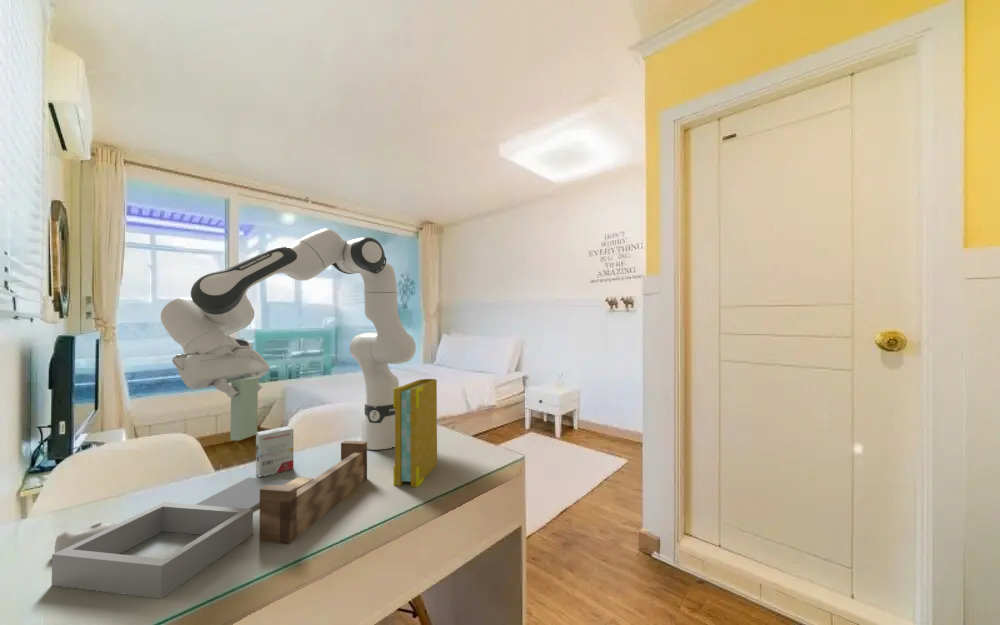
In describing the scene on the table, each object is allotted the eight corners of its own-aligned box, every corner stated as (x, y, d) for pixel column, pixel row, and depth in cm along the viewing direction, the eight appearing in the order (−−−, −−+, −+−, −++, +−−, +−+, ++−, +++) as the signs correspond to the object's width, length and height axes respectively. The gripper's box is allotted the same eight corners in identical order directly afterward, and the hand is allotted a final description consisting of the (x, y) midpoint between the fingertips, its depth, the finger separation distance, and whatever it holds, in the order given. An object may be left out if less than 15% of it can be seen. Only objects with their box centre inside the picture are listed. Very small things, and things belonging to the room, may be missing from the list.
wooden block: (302, 489, 92) (302, 474, 92) (318, 491, 91) (318, 475, 91) (260, 514, 80) (260, 496, 80) (278, 517, 79) (278, 498, 79)
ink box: (289, 464, 108) (289, 425, 108) (293, 469, 104) (294, 428, 105) (255, 473, 102) (255, 431, 102) (259, 478, 98) (259, 435, 99)
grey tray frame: (163, 526, 75) (164, 502, 75) (252, 534, 72) (252, 509, 72) (51, 585, 58) (52, 554, 58) (160, 598, 55) (161, 565, 55)
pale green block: (248, 433, 89) (249, 377, 90) (256, 434, 89) (258, 377, 89) (230, 440, 84) (231, 380, 85) (239, 440, 84) (240, 380, 84)
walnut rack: (345, 477, 98) (345, 440, 98) (367, 478, 97) (367, 441, 98) (259, 541, 69) (259, 489, 70) (289, 544, 69) (289, 491, 69)
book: (417, 487, 92) (417, 389, 93) (393, 485, 93) (393, 388, 94) (441, 461, 108) (440, 379, 109) (420, 460, 110) (420, 378, 110)
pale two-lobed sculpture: (117, 540, 73) (116, 542, 69) (55, 557, 67) (50, 561, 64) (119, 517, 74) (117, 518, 70) (58, 532, 68) (53, 534, 65)
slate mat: (248, 481, 96) (248, 477, 96) (295, 484, 94) (295, 480, 94) (179, 517, 79) (179, 512, 79) (235, 521, 77) (235, 517, 77)
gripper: (177, 345, 78) (215, 391, 76) (254, 341, 98) (286, 377, 97) (159, 365, 79) (196, 411, 77) (239, 357, 99) (270, 393, 97)
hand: (247, 392), depth 87 cm, fingers closed on pale green block, 5 cm apart
